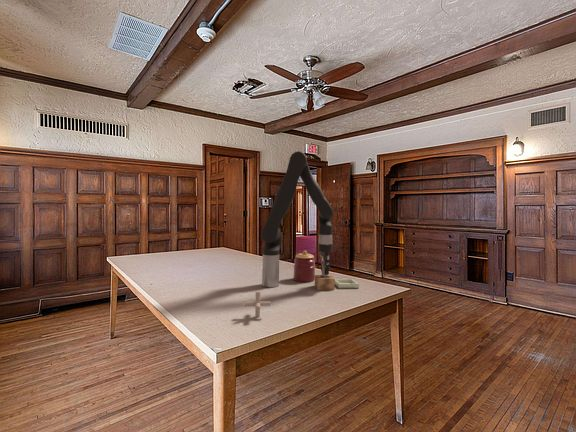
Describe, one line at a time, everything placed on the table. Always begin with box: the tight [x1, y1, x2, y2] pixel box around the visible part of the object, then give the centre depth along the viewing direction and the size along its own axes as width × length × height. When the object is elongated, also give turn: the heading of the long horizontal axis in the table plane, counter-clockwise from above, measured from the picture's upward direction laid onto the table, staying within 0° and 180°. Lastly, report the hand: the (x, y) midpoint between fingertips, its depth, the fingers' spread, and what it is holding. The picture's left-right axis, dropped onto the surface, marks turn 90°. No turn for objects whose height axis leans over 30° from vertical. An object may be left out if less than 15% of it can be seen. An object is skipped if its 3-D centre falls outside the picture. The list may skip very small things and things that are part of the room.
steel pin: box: [321, 260, 328, 278], centre depth 165 cm, size 3×3×15 cm
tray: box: [335, 278, 360, 290], centre depth 170 cm, size 11×11×2 cm
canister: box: [293, 250, 316, 283], centre depth 182 cm, size 13×13×18 cm
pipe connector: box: [244, 290, 272, 318], centre depth 120 cm, size 10×10×10 cm
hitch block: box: [314, 274, 336, 291], centre depth 165 cm, size 9×9×6 cm
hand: (324, 272), depth 165 cm, fingers open, 7 cm apart
